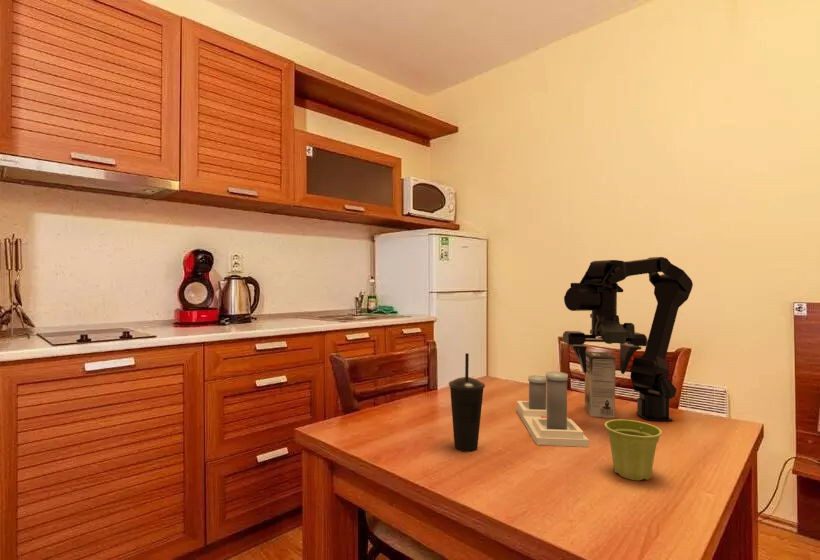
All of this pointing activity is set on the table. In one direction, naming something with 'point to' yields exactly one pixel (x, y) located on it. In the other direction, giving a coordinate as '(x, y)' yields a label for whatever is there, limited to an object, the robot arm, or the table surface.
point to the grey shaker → (557, 400)
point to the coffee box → (600, 384)
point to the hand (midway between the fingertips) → (603, 373)
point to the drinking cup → (466, 410)
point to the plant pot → (633, 447)
